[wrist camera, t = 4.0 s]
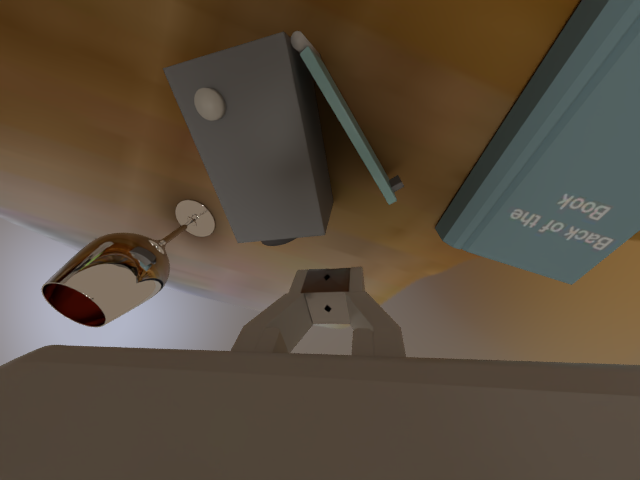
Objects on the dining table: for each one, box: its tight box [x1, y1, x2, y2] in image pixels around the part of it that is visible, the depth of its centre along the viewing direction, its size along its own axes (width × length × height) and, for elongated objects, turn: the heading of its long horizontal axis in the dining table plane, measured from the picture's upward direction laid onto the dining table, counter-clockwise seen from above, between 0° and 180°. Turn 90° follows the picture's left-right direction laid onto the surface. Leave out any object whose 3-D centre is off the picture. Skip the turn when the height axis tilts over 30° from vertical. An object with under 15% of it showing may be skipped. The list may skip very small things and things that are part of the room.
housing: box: [163, 32, 333, 246], centre depth 24 cm, size 18×10×10 cm, turn 11°
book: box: [435, 0, 640, 285], centre depth 23 cm, size 23×16×5 cm
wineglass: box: [42, 200, 215, 327], centre depth 28 cm, size 8×8×18 cm
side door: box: [291, 31, 404, 205], centre depth 22 cm, size 15×2×8 cm, turn 36°
